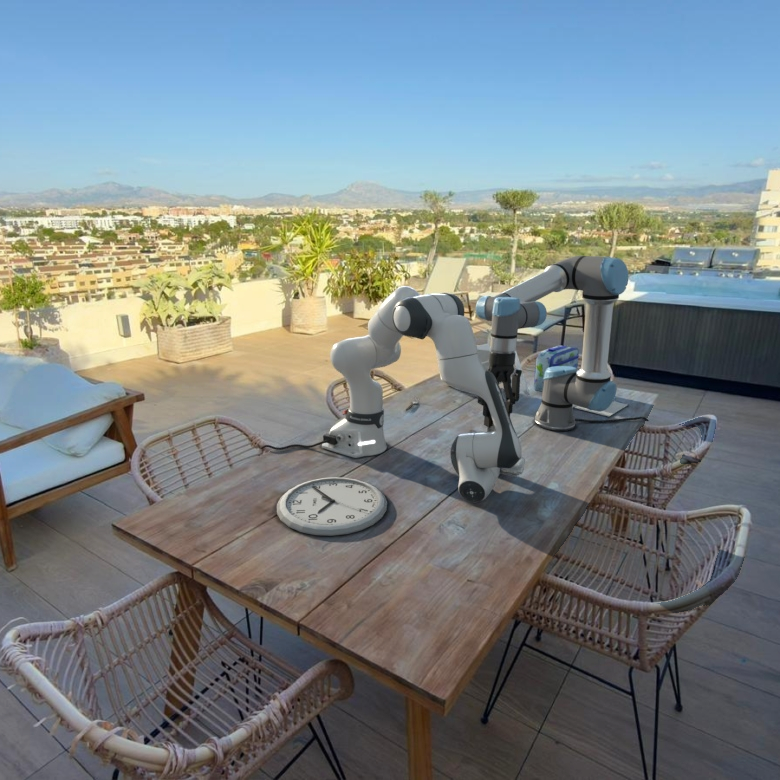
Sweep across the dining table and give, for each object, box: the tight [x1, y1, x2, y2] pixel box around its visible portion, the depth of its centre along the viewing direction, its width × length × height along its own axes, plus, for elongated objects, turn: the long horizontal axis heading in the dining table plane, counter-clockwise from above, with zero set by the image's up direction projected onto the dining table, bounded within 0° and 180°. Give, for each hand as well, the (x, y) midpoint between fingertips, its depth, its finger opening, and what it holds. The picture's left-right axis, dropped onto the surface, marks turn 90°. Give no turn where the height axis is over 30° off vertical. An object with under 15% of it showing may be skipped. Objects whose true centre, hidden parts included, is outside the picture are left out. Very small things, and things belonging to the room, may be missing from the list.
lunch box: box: [533, 345, 580, 393], centre depth 245 cm, size 26×11×21 cm, turn 135°
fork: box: [405, 396, 421, 411], centre depth 222 cm, size 3×16×2 cm, turn 160°
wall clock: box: [276, 476, 388, 537], centre depth 142 cm, size 30×2×30 cm
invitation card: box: [573, 400, 629, 418], centre depth 226 cm, size 21×1×15 cm
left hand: (494, 450), depth 163 cm, fingers closed on jar, 5 cm apart
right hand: (496, 424), depth 160 cm, fingers closed on lid, 6 cm apart
